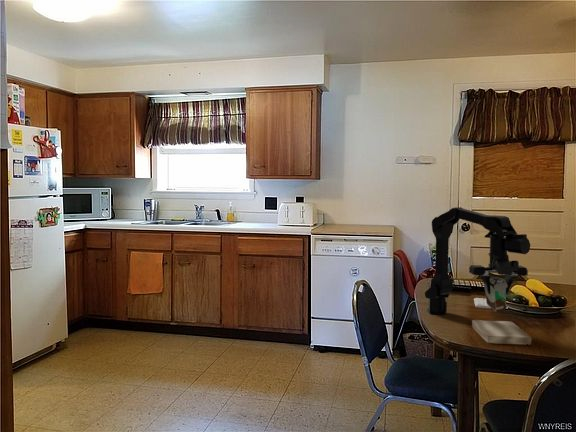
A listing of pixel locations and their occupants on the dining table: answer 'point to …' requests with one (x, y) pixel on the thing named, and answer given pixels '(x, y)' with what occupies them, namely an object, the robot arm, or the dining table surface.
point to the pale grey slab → (501, 332)
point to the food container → (497, 294)
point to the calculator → (482, 303)
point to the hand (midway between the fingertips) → (497, 293)
